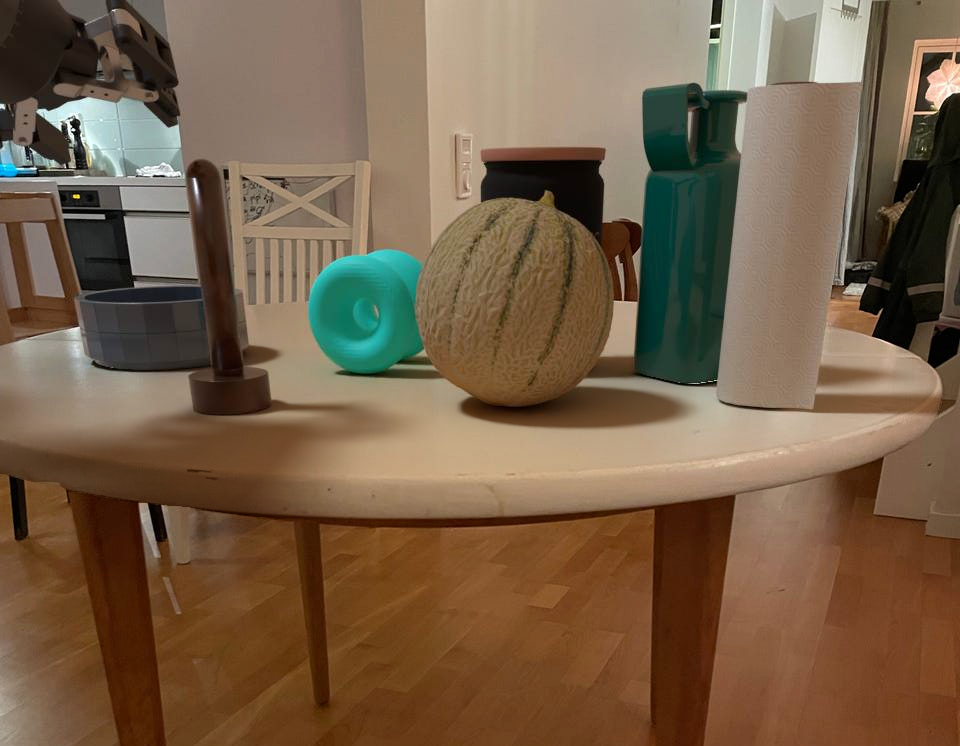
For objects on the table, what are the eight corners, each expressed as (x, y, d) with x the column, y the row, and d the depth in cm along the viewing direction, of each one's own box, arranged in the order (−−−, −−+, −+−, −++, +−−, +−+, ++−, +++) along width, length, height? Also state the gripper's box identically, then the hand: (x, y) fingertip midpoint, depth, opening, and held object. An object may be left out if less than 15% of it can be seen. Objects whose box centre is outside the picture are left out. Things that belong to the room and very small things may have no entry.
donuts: (307, 374, 84) (297, 255, 79) (352, 355, 92) (344, 248, 88) (410, 379, 81) (405, 257, 77) (446, 359, 90) (443, 248, 85)
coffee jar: (512, 381, 79) (513, 146, 71) (463, 362, 88) (460, 150, 80) (617, 371, 83) (630, 146, 75) (561, 353, 92) (567, 150, 84)
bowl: (58, 371, 86) (44, 303, 83) (125, 344, 100) (115, 285, 97) (222, 372, 85) (213, 303, 82) (267, 344, 99) (260, 285, 96)
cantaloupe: (379, 407, 71) (367, 192, 64) (500, 378, 81) (501, 189, 74) (529, 437, 62) (534, 192, 56) (645, 401, 72) (660, 189, 65)
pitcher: (691, 362, 87) (716, 93, 77) (760, 376, 81) (796, 85, 71) (611, 373, 82) (627, 89, 73) (677, 389, 76) (704, 79, 66)
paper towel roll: (706, 393, 75) (736, 87, 65) (779, 392, 75) (820, 87, 65) (733, 413, 68) (771, 77, 59) (813, 412, 68) (864, 77, 59)
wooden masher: (182, 414, 69) (142, 158, 62) (207, 397, 75) (174, 159, 67) (260, 415, 69) (230, 157, 61) (280, 398, 74) (254, 159, 67)
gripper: (52, -126, 48) (195, 47, 64) (-177, -33, 50) (16, 111, 66) (88, 18, 48) (221, 154, 64) (-142, 103, 51) (42, 214, 67)
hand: (117, 132), depth 65 cm, fingers open, 8 cm apart
